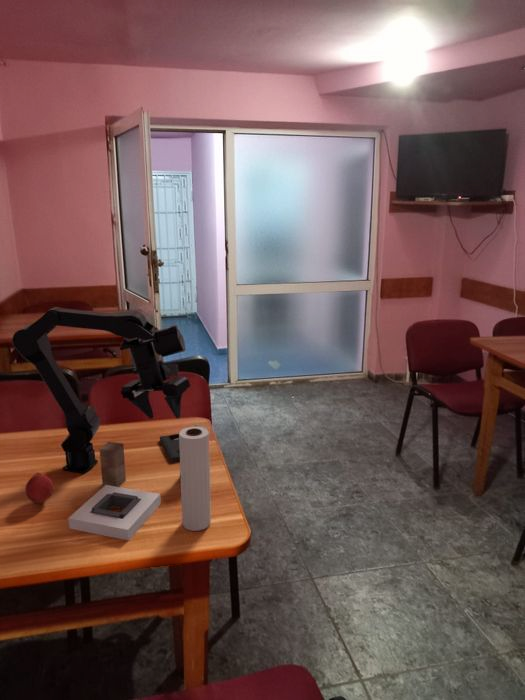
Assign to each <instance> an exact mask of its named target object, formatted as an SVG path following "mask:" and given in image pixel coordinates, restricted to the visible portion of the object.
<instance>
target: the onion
mask: <svg viewBox="0 0 525 700" xmlns="http://www.w3.org/2000/svg"><path fill="white" fill-rule="evenodd" d="M52 481H53V480H52V479H50V478H49V477H48V476H47V475H45V474H42V472H41V471H37V472H35V474H34V475H32V476H31V477H30V478H29V480H28V481H27V483H26V485H25V496H26V498H27V499H28V500H29V501H31V502H33V503H35V504H39V505H41V504H42V505H43V504H44V503H45V502H46V501H48V499H49V498H51V496H52V494H53V493H54V483H53V482H52Z"/></svg>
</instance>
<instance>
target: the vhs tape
mask: <svg viewBox="0 0 525 700" xmlns="http://www.w3.org/2000/svg"><path fill="white" fill-rule="evenodd" d="M159 443H160V444H161V446H162V448H163V449H164V451H165V454H166V456H167V457H168V459H169V461H170V463H171V464H173V463H180V447H179V433H174V434H169V435H168V434H167V435H160V436H159Z"/></svg>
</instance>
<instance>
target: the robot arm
mask: <svg viewBox="0 0 525 700" xmlns="http://www.w3.org/2000/svg"><path fill="white" fill-rule="evenodd" d="M57 327H68V328H77V329H87V330H97V331H104V332H107V333H110V334H112V335H115V336H118V337H122V338H123V340H122V343H121V345H120V347H119V351H124V350H128V351H129V353H130V355H131V359H132V362H133V365H134V369H132V374H133V375H137V377H138V379H132V380H131V381H129V382H128V383H126V384H125V385H123V386H122V387H121V390H120V393H121V396H122V399H126V400H127V401H129V402H130V403H132V404H133V405H134V406H135V407H137V408H138V409H139V410H140V411H141V412H143V414H144V415H145V416H146V417H147V418H148V419H150V420H152V419H153V418H154V413H153V407H152V405H151V402H150V398H149V395H150V394H149V393H150V392H160V391H161V392H162V393H163V395H165V397H164V400H165V402H166V403H167V406H168V407H169V409H170V410H171V412H172V414H173V416H174V417H175V419H176V420H177V419H179V418H181V413H182V412H181V410H182V409H181V408H182V397H183V394H184V392H186V391H187V390H188V388H189V389H190V387H191V383H190V380H189V378H188V377H186V376H179V375H180V374H179V366H178V365H179V364H177V363H176V364H164V361H162V359H161V360H158V357H157V355H158V356H159V357H160V356H161V357H162V358H165V357H168V356H172V355H173V356H174V355H176V354H179V353H183V352H186V342H185V340H184V339H185V338H184V336H183V334H182V332H181V331H180V329H179V327H178V324H174V325H173V324H172V325H171V326H169V327H166V328H162V329H159V328H158V327H156V326H155V325H154V324H152V323H151V322H149V321H148V319H147V318H146V316H145V314H144V313H142V312H141V311H138V310H125V311H117V312H99V311H91V310H80V309H72V308H64V307H61V306H60V307H59V306H55V307H53V308H52V307H51V308H50V309H48V310H46V312H45V313H44V314H43V315H42V316H41V317H39V318H38V319H37V320H35V322H33V323H30V324H28V325H26V326H23V327H22V328H20V329H18V330H16V332H14V333H13V335H12V339H11V343H12V345H13V347H14V348H15V349H16V351H17V352H18V353H19V354H20V355H21V356H22V358H23V359H24V360H26V361H27V362H29V363H31V364H33V366H34V367H35V369H36V371H37V372H38V374H39V375H40V377H41V379H42V380H43V381H44V384H45V385H46V387H47V388H48V389H49V391H50V393H51V395H52V396H53V398H54V400H55V402H56V403H57V405H58V406H59V408H60V409H61V411H62V412H63V415H64V419H65V420H64V421H65V427H66V430H67V432H68V435H67V436H66V437H65V439H64V440H63V441H62V442H61V444H60V447H61V448H62V451H63V452H64V454H65V463H66V465H64V466H63V467H62V470H63V471H67V472H75V473H80V474H85V473H86V472H87V471H89V470H90V469H92V468H93V467H94V466H95V465H96V464H97V463H99V460H97V459H96V452H95V449H94V445H93V443H92V442H91V441H92V440H93V439H94V437H95V435H96V434H97V432H98V431H99V429H100V424H101V423H100V418H101V416H99V415H98V414H97V412H96V410H95V407H94V406H93V405H89V406H88V407H87V406H86V405H84V404H82V402H81V401H80V399H79V398H78V396H77V394H76V392H75V391H74V389H73V388H72V386H71V384H70V383H69V381H68V380H67V378H66V376H65V375H64V373H63V371H62V369H61V368H60V366H59V364H58V363H57V361H56V359H55V358H54V356H53V353H52V347H51V341H50V339H49V336H48V334H49V333H51V332H52V331H53V330H54V329H55V328H57ZM171 377H173V378H171ZM170 378H171V379H170ZM169 379H170V380H169ZM166 381H167V382H166Z"/></svg>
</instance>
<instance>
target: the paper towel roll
mask: <svg viewBox="0 0 525 700" xmlns="http://www.w3.org/2000/svg"><path fill="white" fill-rule="evenodd" d="M194 424H195V426H189V427H185V428H182V429H181V430H179V433H178V434H179V447H180V461H179V470H180V471H179V474H180V473H181V481H180V492H181V493H180V494H181V496H180V497H181V518H182V519H181V521H182V523H181V524H182V527H184V528H185V529H186V530H188V531H193V532H199V531H202V530H205V529H207V528H208V527H209V526H210V525H211V522H212V521H211V519H212V516H211V515H212V514H211V511H212V510H211V474H210V473H211V472H210V471H211V469H210V432H209V429H207V428H206V427H205V426H202V425H200V424H198V423H197V422H195V423H194Z"/></svg>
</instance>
